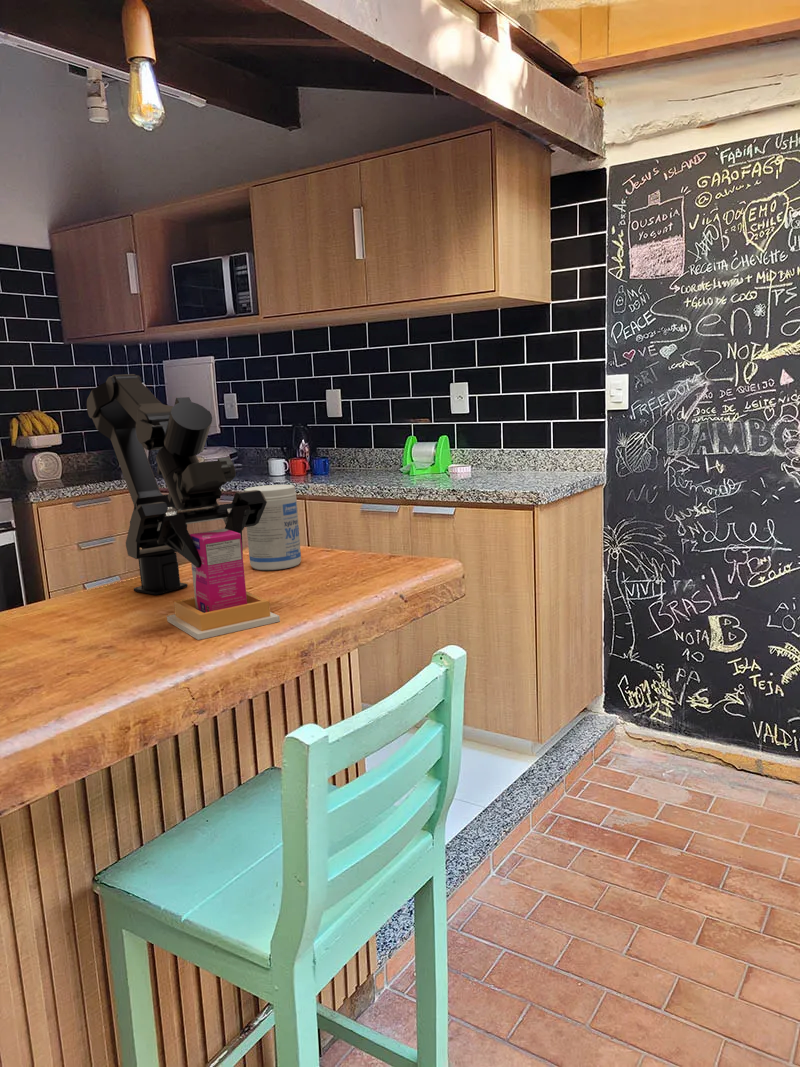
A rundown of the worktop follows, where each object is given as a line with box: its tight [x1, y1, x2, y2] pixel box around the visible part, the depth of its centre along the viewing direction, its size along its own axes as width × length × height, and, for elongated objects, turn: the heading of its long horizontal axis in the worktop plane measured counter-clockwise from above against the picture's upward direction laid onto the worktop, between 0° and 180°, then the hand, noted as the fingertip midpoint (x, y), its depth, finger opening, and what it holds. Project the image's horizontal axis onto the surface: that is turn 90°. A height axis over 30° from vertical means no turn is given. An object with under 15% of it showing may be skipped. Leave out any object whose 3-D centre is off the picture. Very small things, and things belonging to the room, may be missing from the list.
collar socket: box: [166, 590, 281, 641], centre depth 115 cm, size 12×12×3 cm
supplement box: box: [189, 528, 247, 613], centre depth 114 cm, size 6×6×12 cm
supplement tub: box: [243, 484, 302, 571], centre depth 150 cm, size 10×10×15 cm
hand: (220, 562), depth 113 cm, fingers open, 6 cm apart
